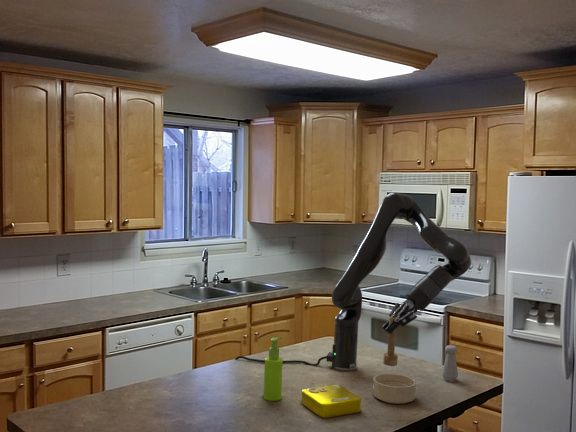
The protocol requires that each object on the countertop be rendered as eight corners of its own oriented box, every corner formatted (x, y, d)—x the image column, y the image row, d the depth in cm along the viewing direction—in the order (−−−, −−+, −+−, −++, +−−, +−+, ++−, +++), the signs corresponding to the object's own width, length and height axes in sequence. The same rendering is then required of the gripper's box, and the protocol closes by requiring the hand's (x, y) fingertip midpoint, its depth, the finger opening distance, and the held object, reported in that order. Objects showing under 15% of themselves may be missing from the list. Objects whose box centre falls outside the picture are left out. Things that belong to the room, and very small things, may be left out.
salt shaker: (456, 378, 223) (458, 344, 223) (459, 383, 218) (461, 348, 217) (440, 377, 224) (442, 343, 223) (443, 382, 218) (444, 347, 217)
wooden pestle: (382, 365, 187) (385, 318, 186) (384, 361, 192) (386, 315, 191) (396, 366, 186) (399, 320, 185) (397, 362, 190) (400, 317, 190)
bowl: (370, 402, 195) (371, 384, 195) (374, 388, 209) (375, 371, 208) (414, 407, 192) (415, 389, 191) (415, 392, 205) (416, 376, 205)
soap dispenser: (284, 395, 198) (286, 336, 197) (277, 401, 192) (279, 341, 191) (268, 392, 200) (270, 334, 199) (260, 399, 194) (263, 339, 193)
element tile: (322, 419, 179) (323, 403, 179) (299, 402, 192) (299, 387, 192) (363, 412, 186) (363, 397, 186) (337, 396, 199) (338, 382, 199)
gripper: (407, 281, 196) (371, 317, 194) (425, 289, 182) (386, 328, 180) (421, 296, 197) (385, 333, 195) (440, 305, 183) (401, 344, 182)
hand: (385, 330), depth 188 cm, fingers closed on wooden pestle, 2 cm apart
